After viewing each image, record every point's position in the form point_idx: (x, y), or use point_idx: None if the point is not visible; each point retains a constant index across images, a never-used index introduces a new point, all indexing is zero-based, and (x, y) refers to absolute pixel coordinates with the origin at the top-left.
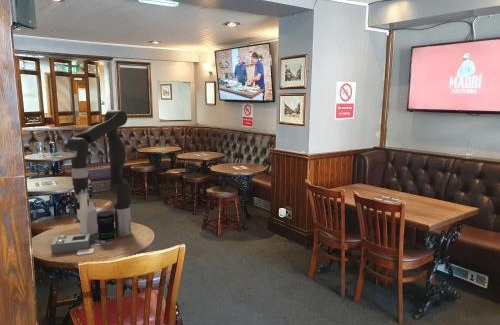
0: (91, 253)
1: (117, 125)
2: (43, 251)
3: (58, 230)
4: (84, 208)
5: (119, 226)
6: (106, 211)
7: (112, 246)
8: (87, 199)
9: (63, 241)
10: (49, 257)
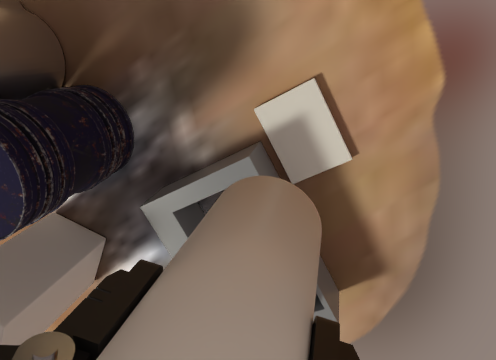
0: (318, 86)
1: None
2: None
3: None
4: (274, 260)
5: (10, 59)
6: None
7: (192, 20)
8: (73, 351)
9: None
10: (386, 278)
